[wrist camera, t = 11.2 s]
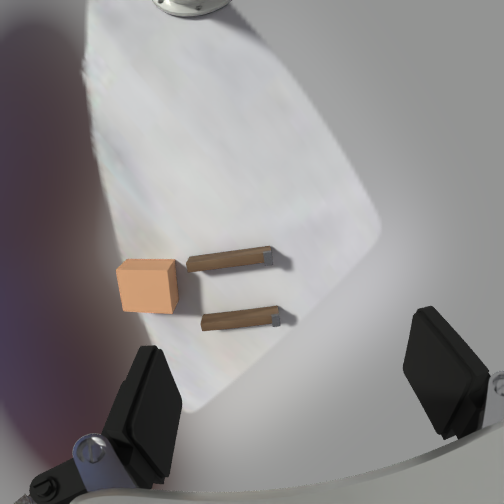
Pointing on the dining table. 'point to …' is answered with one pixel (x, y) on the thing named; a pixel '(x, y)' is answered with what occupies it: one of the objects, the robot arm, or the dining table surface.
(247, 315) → the brown wooden rail pair
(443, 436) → the robot arm
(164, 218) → the dining table surface
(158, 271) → the light orange block
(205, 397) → the dining table surface
